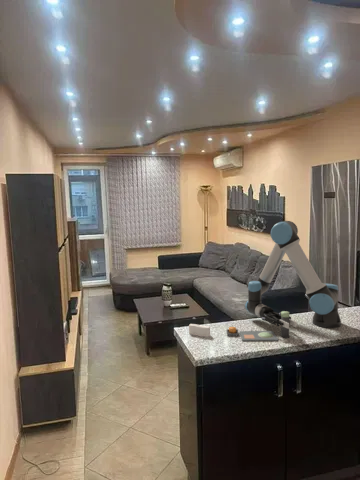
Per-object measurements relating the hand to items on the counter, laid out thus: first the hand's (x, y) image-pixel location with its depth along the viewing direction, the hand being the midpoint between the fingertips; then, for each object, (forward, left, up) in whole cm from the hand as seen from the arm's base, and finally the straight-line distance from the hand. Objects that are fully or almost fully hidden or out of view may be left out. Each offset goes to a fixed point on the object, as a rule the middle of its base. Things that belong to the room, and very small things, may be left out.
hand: (292, 325), depth 179 cm
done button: (+29, -9, -8) cm, 32 cm away
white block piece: (+47, -9, -9) cm, 49 cm away
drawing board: (+16, -5, -8) cm, 19 cm away
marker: (+2, -5, -8) cm, 9 cm away
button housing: (+29, -9, -8) cm, 32 cm away
